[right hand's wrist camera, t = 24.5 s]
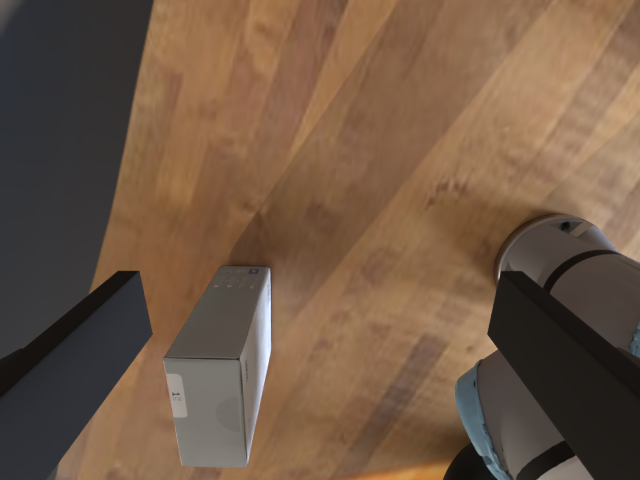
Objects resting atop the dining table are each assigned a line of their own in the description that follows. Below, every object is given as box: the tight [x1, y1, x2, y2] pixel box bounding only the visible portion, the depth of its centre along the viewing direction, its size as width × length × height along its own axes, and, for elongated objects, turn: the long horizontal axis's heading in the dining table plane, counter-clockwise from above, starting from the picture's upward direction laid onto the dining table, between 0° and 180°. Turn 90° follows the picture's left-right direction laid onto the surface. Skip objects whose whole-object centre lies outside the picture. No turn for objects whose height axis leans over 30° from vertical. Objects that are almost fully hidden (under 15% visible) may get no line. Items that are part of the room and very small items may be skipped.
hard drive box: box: [163, 266, 271, 468], centre depth 45 cm, size 16×8×20 cm, turn 178°
